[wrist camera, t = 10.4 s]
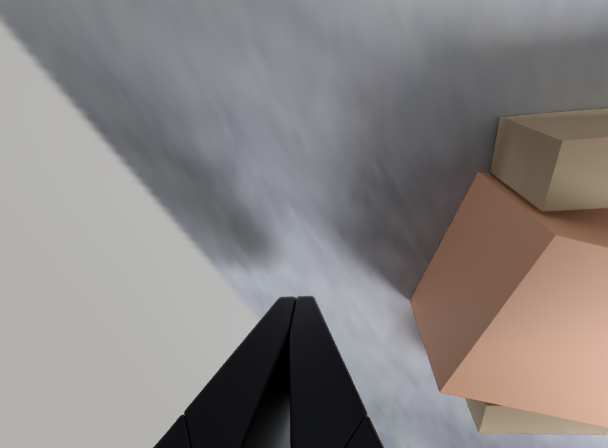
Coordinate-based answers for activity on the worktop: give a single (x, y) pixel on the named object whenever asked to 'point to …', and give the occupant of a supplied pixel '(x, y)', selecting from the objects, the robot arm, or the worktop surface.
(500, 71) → the worktop surface
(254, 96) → the worktop surface
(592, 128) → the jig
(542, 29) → the worktop surface
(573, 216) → the salmon pink cuboid
